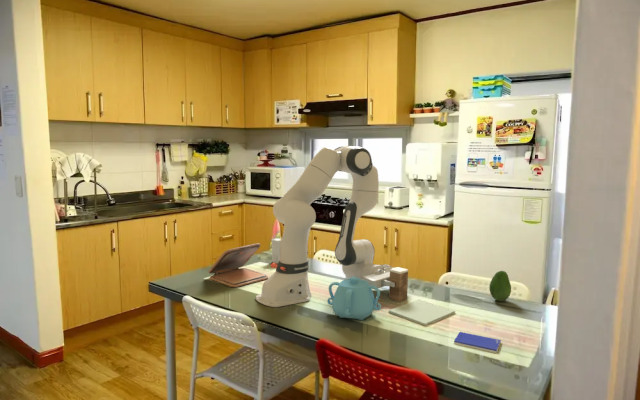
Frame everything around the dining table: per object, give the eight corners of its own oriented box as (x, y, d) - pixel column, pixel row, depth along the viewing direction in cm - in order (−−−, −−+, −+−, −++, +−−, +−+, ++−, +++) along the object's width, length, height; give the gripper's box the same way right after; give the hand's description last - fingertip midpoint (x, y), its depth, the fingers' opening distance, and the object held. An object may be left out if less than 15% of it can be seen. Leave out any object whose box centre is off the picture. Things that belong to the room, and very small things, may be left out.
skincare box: (285, 263, 230) (285, 239, 228) (278, 264, 227) (278, 241, 225) (278, 260, 234) (278, 237, 233) (271, 262, 231) (271, 238, 230)
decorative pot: (384, 320, 156) (385, 282, 154) (342, 326, 150) (343, 286, 149) (363, 304, 171) (364, 269, 169) (324, 309, 165) (325, 273, 164)
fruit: (510, 299, 178) (512, 269, 176) (510, 305, 171) (511, 274, 169) (489, 296, 181) (491, 267, 180) (487, 302, 174) (489, 272, 172)
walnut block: (399, 302, 174) (399, 271, 172) (389, 298, 177) (389, 269, 176) (407, 299, 177) (408, 269, 175) (397, 295, 181) (398, 266, 179)
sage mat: (425, 325, 151) (425, 323, 151) (388, 312, 163) (388, 310, 163) (455, 313, 162) (455, 310, 162) (418, 301, 174) (418, 299, 174)
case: (243, 270, 217) (242, 237, 215) (271, 279, 203) (270, 244, 201) (206, 279, 203) (205, 244, 201) (233, 289, 188) (232, 252, 186)
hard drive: (501, 339, 138) (460, 331, 144) (497, 349, 131) (454, 340, 137) (500, 344, 139) (459, 335, 145) (496, 354, 131) (453, 345, 138)
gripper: (356, 272, 179) (383, 280, 168) (389, 263, 192) (416, 270, 182) (356, 287, 180) (382, 296, 169) (389, 278, 193) (415, 285, 183)
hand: (400, 283), depth 176 cm, fingers closed on walnut block, 5 cm apart
